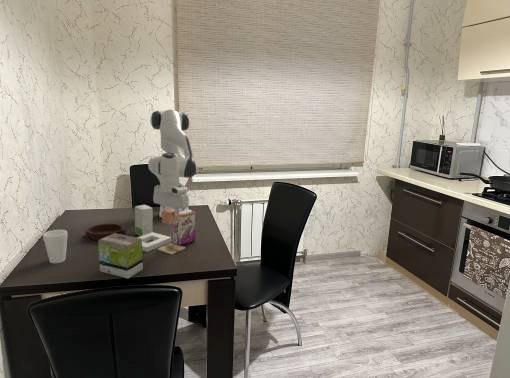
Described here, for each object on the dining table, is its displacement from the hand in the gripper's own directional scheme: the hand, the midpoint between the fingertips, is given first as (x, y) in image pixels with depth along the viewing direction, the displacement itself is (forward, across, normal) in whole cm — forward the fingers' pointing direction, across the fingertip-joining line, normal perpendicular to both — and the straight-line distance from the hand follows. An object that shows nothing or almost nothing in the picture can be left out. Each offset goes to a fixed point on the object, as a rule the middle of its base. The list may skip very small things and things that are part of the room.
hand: (170, 214), depth 176 cm
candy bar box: (+18, -1, +11) cm, 21 cm away
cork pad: (+18, 0, 0) cm, 18 cm away
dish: (+18, -41, -7) cm, 45 cm away
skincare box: (+18, -28, +8) cm, 34 cm away
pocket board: (+18, -14, -1) cm, 23 cm away
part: (+3, 0, 0) cm, 3 cm away
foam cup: (+18, -32, -39) cm, 54 cm away
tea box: (+18, 0, -30) cm, 35 cm away
